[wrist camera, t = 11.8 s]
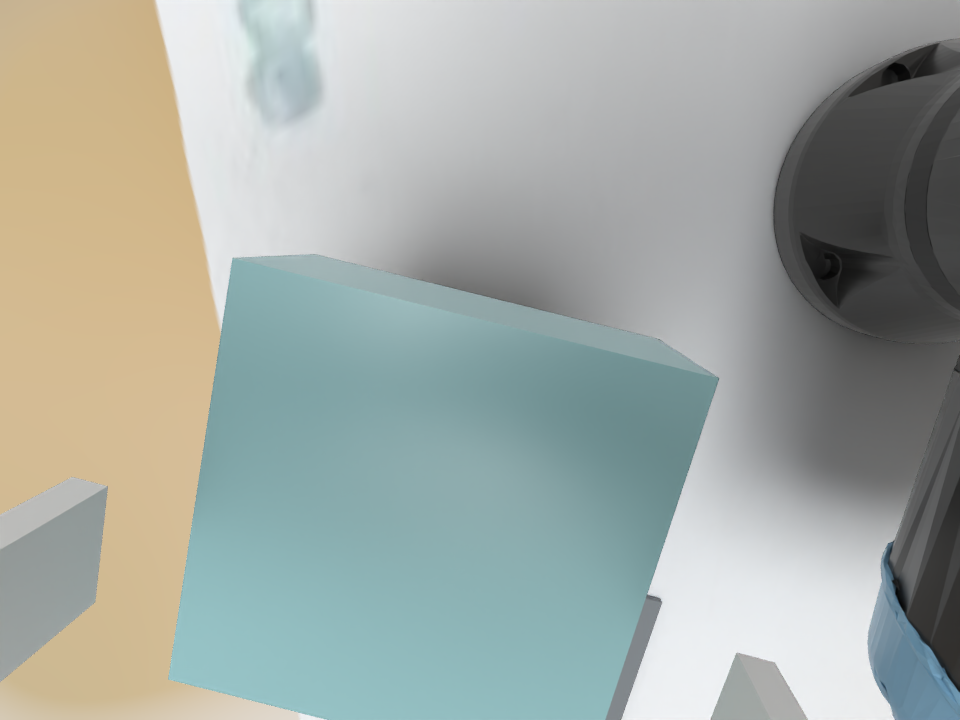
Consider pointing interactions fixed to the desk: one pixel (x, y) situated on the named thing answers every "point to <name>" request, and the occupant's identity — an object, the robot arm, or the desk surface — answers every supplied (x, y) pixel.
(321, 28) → the desk surface
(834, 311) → the robot arm
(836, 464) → the desk surface
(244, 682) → the cover cap
